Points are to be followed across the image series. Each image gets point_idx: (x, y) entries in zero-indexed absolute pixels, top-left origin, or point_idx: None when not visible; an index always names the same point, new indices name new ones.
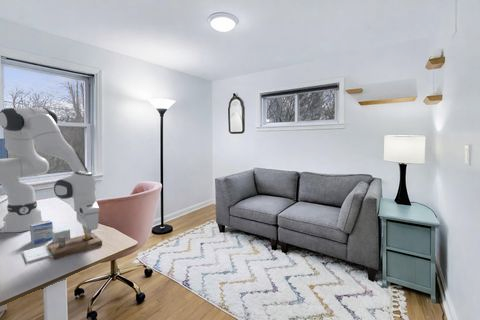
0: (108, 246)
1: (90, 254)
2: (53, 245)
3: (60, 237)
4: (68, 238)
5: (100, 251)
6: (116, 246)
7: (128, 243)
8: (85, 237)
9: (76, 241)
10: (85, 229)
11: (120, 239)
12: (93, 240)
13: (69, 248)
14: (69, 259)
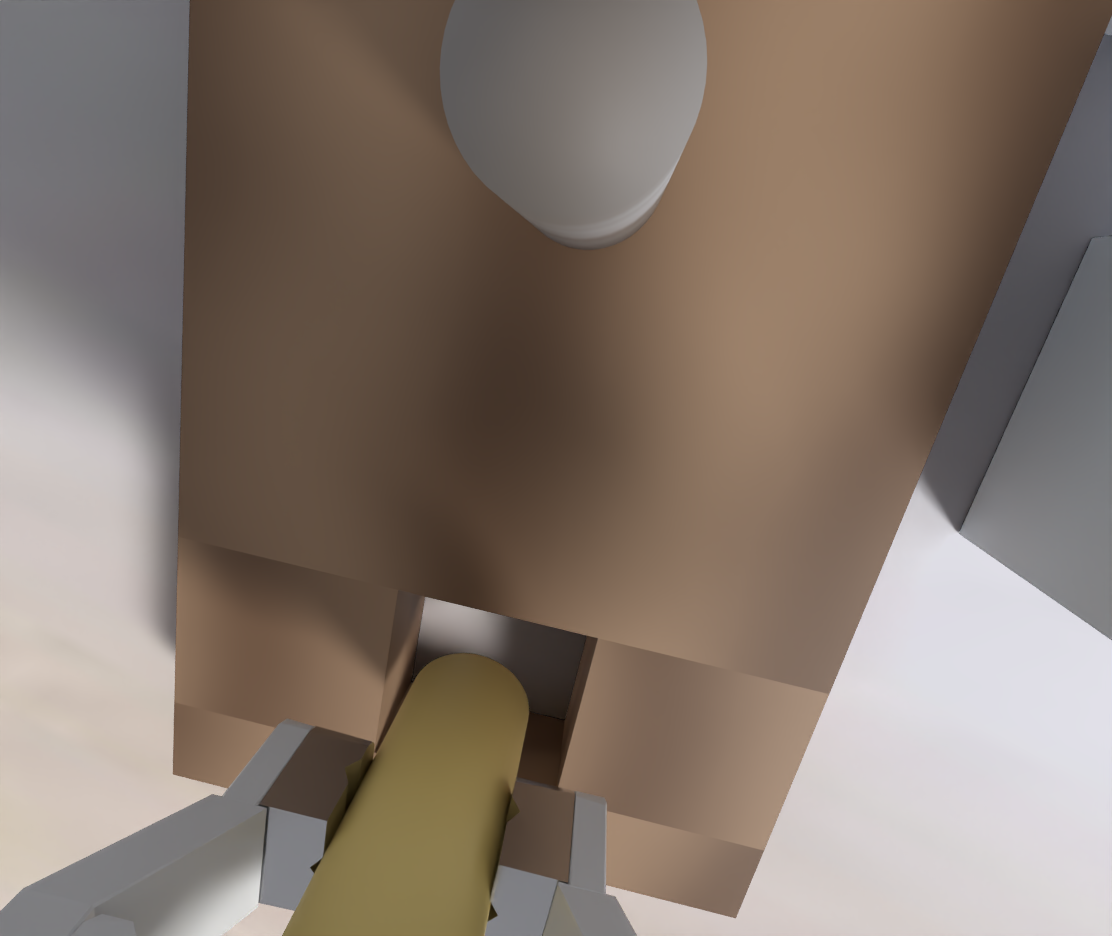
0: (123, 723)
1: (23, 425)
2: (866, 22)
3: (595, 32)
4: (1028, 532)
5: (25, 567)
6: (35, 771)
7: (17, 891)
8: (437, 686)
9: (563, 509)
10: (324, 905)
11: (240, 930)
12: (297, 705)
13: (264, 207)
14: (77, 97)
